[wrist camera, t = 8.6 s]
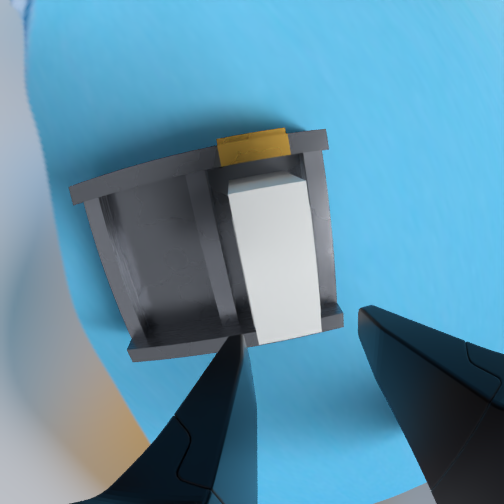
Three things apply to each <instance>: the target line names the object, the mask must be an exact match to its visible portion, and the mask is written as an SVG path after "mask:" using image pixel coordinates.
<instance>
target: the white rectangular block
mask: <svg viewBox="0 0 504 504" xmlns="http://www.w3.org/2000/svg"><path fill="white" fill-rule="evenodd" d="M228 197H229V202H230V207H231V212H232V223H233V228H234V233H235V238H236V243H237V247H238V252H239V257H240V262H241V267H242V272H243V276H244V281H245V286H246V291H247V295H248V300H249V305H250V310H251V314H252V319H253V324H254V327H255V328H256V333H257V337H258V342H259V345H261V344H267V343H272V342H277V341H282V340H287V339H291V338H296V337H301V336H305V335H310V334H314V333H319V332H322V328H321V314H320V313H321V306H320V294H319V282H318V271H317V261H316V251H315V242H314V233H313V225H312V217H311V209H310V205H309V199H308V191H307V184H306V180H303V179H301V178H299V177H297V176H294V175H292V174H290V173H288V172H285V171H279V172H273V173H267V174H261V175H255V176H250V177H244V178H239V179H234V180H229V186H228Z"/></svg>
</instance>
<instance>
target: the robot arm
mask: <svg viewBox="0 0 504 504" xmlns="http://www.w3.org/2000/svg"><path fill="white" fill-rule="evenodd" d="M358 335H359V339H360V341H361V344H362V346H363V349H364V351H365V354H366V356H367V359H368V361H369V364H370V367H371V369H372V372H373V374H374V377H375V379H376V381H377V383H378V385H379V387H380V389H381V391H382V392H383V394H384V396H385V398H386V400H387V402H388V404H389V406H390V408H391V410H392V412H393V413H394V415H395V417H396V419H397V421H398V423H399V425H400V427H401V429H402V431H403V433H404V435H405V437H406V439H407V441H408V443H409V445H410V447H411V449H412V451H413V453H414V455H415V458H416V460H417V462H418V464H419V466H420V468H421V470H422V472H423V474H424V476H425V479H426V481H427V483H428V485H429V487H430V489H431V490H432V491H431V492H432V494H433V496H434V499H435V501H436V503H437V504H504V354H501V353H498V352H495V351H491V350H489V349H486V348H483V347H480V346H477V345H475V344H472V343H470V342H466V343H465V341H464V340H462V339H459V338H456V337H454V336H451V335H449V334H446V333H443V332H441V331H438V330H436V329H433V328H430V327H428V326H425V325H423V324H420V323H417V322H415V321H412V320H410V319H407V318H404V317H402V316H399V315H397V314H394V313H392V312H389V311H386V310H384V309H381V308H379V307H376V306H373V305H369V306H366V307H362V308H360V309H359V312H358ZM174 415H175V416H173V417H172V418H171V419H170V421H169V422H168V424H167V425H166V426H165V428H164V429H163V430H162V431H161V433H160V434H159V435H158V437H157V438H156V439H155V440H154V441H153V443H152V444H151V445H150V446H149V447H148V448H147V449H146V450H145V452H144V453H143V454H142V455H141V456H140V457H139V458H138V459H137V460H136V461H135V462H134V463H133V464H132V465H131V466H130V467H129V468H128V469H127V471H126V472H124V473H123V474H122V475H121V477H119V478H118V479H117V480H116V482H114V483H113V485H111V486H110V487H109V488H108V489H107V490H105V491H104V492H103V493H101V494H99V495H97V496H96V497H93V498H91V499H88V500H84V501H80V502H75V503H71V504H257V405H256V397H255V390H254V384H253V377H252V370H251V363H250V358H249V354H248V350H247V346H246V342H245V338H244V335H243V334H237V335H232V336H229V337H228V338H227V339H226V341H225V342H224V344H223V345H222V347H221V348H220V350H219V351H218V353H217V354H216V355H215V357H214V358H213V360H212V361H211V363H210V364H209V366H208V367H207V369H206V370H205V371H204V373H203V374H202V376H201V377H200V379H199V380H198V381H197V383H196V384H195V386H194V387H193V389H192V390H191V391H190V393H189V394H188V396H187V397H186V399H185V400H184V401H183V403H182V404H181V406H180V407H179V408H178V410H177V411H176V413H175V414H174Z"/></svg>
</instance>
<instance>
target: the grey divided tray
mask: <svg viewBox="0 0 504 504" xmlns="http://www.w3.org/2000/svg"><path fill="white" fill-rule="evenodd" d="M216 140H217V146H212V147H207V148H203V149H198V150H194V151H189V152H185V153H181V154H176V155H172V156H168V157H164V158H161V159H157V160H153V161H149V162H146V163H142V164H138V165H135V166H131V167H128V168H125V169H121V170H118V171H115V172H111V173H108V174H105V175H102V176H99V177H96V178H93V179H90V180H87V181H84V182H81V183H78V184H76V185H73V186H70V187H69V190H70V194H71V198H72V202H73V205H76V204H79V203H82V202H84V206H85V209H86V213H87V217H88V220H89V224H90V227H91V231H92V234H93V237H94V240H95V244H96V247H97V250H98V253H99V256H100V259H101V262H102V265H103V268H104V271H105V273H106V276H107V279H108V282H109V284H110V287H111V290H112V292H113V295H114V298H115V300H116V303H117V305H118V308H119V310H120V312H121V315H122V317H123V320H124V322H125V324H126V327H127V329H128V331H129V334H130V336H131V338H132V339H131V342H130V344H129V346H128V348H127V351H128V353H129V355H130V357H131V359H132V361H133V362H141V361H152V360H162V359H171V358H179V357H187V356H195V355H202V354H210V353H216V352H218V351H219V350H220V348H221V347H222V345H223V344H224V342H225V341H226V339H227V338H228V337H229V336H232V335H237V334H243V335H244V338H245V342H246V346H247V347H253V346H258V345H259V342H258V337H257V333H256V328H255V327H254V324H253V319H252V314H251V310H250V305H249V300H248V295H247V291H246V286H245V281H244V276H243V272H242V267H241V262H240V257H239V252H238V247H237V243H236V238H235V233H234V228H233V223H232V212H231V207H230V202H229V197H228V186H229V180H234V179H239V178H244V177H250V176H255V175H261V174H267V173H273V172H279V171H285V172H288V173H290V174H292V175H294V176H297V177H299V178H301V179H303V180H306V184H307V191H308V199H309V205H310V209H311V217H312V225H313V233H314V242H315V251H316V261H317V271H318V282H319V294H320V306H321V313H320V314H321V328H322V332H324V331H329V330H333V329H337V328H341V327H344V323H343V312H342V310H341V309H340V307H339V305H338V304H337V296H336V279H335V264H334V251H333V239H332V229H331V219H330V209H329V200H328V192H327V184H326V176H325V169H324V162H323V155H322V150H328V149H329V146H328V140H327V133H326V129H320V130H311V131H303V132H295V133H287V134H286V131H285V128H278V129H272V130H265V131H259V132H253V133H247V134H241V135H235V136H230V137H225V138H220V139H216ZM319 333H320V332H319ZM314 334H316V333H314ZM310 335H312V334H310ZM305 336H307V335H305ZM301 337H303V336H301ZM296 338H298V337H296ZM291 339H293V338H291ZM287 340H289V339H287ZM282 341H284V340H282ZM277 342H279V341H277ZM272 343H274V342H272ZM267 344H269V343H267ZM261 345H263V344H261Z"/></svg>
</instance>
